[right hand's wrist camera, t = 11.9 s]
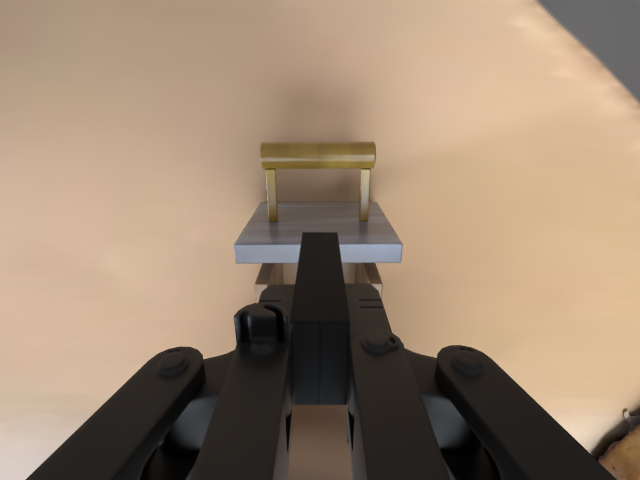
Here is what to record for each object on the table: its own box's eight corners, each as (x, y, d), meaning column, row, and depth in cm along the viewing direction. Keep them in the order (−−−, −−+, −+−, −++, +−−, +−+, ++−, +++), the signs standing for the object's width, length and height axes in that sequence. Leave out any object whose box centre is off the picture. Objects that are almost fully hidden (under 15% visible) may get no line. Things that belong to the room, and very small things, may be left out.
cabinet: (263, 304, 33) (236, 399, 22) (375, 304, 33) (402, 398, 22) (273, 442, 40) (256, 567, 29) (366, 442, 40) (384, 567, 29)
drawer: (256, 136, 26) (224, 150, 17) (380, 136, 26) (411, 149, 17) (272, 368, 34) (255, 458, 26) (367, 368, 34) (383, 457, 25)
